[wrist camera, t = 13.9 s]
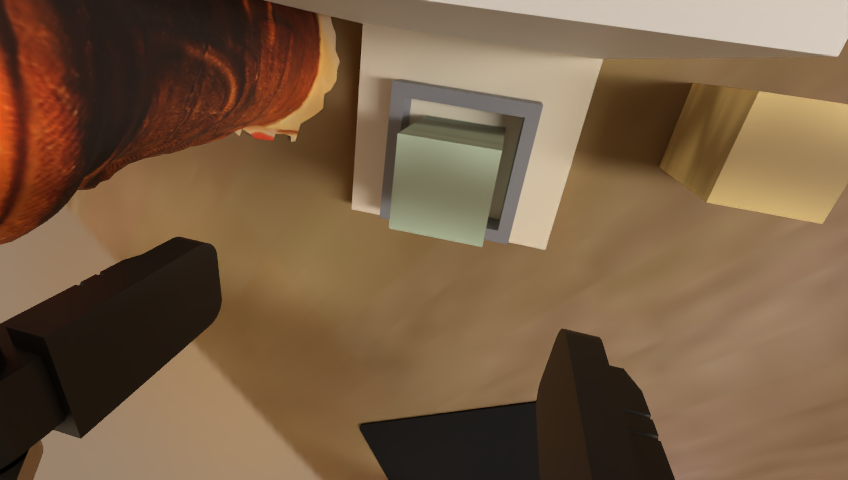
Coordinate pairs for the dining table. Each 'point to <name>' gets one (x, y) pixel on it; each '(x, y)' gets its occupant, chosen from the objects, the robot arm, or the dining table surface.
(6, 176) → the vessel
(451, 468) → the table lamp
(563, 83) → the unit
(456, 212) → the sage block
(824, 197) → the mustard block
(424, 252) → the dining table surface
